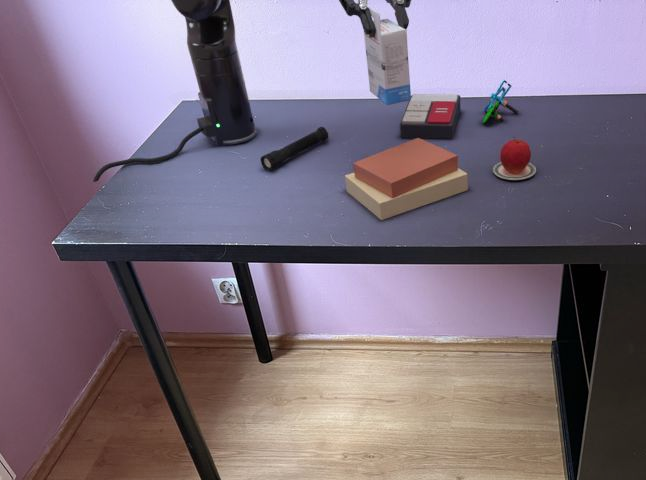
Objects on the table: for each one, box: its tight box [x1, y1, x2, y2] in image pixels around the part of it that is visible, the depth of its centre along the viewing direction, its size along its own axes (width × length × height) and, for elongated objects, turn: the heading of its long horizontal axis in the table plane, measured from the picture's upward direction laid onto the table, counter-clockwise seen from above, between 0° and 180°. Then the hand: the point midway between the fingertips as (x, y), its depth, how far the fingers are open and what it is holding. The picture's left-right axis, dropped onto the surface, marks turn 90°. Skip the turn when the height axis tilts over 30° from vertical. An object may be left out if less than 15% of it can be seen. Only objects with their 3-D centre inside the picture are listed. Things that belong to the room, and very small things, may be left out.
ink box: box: [363, 6, 412, 106], centre depth 113 cm, size 8×5×15 cm, turn 26°
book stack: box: [344, 138, 469, 221], centre depth 118 cm, size 18×13×6 cm
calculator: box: [399, 93, 461, 140], centre depth 141 cm, size 11×4×15 cm
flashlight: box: [260, 126, 329, 172], centre depth 133 cm, size 3×16×3 cm, turn 144°
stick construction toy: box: [482, 79, 519, 124], centre depth 143 cm, size 12×7×8 cm
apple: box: [492, 136, 537, 181], centre depth 122 cm, size 8×8×6 cm
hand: (388, 31), depth 110 cm, fingers closed on ink box, 5 cm apart
